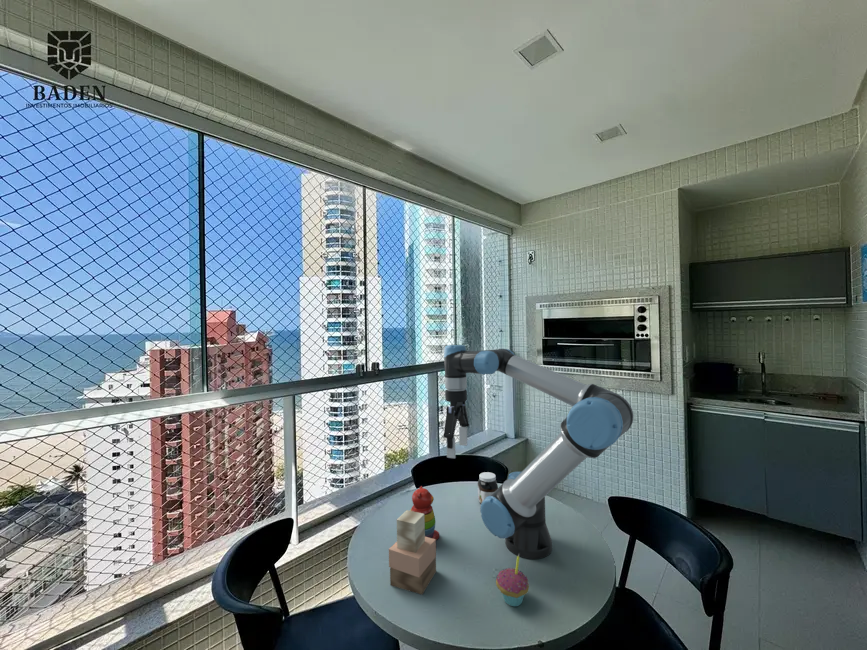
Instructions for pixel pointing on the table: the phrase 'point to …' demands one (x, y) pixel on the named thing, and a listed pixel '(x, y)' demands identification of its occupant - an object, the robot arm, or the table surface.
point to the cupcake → (512, 585)
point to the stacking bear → (425, 510)
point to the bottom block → (413, 579)
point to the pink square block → (413, 558)
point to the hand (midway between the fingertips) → (457, 451)
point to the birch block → (410, 531)
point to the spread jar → (486, 485)
